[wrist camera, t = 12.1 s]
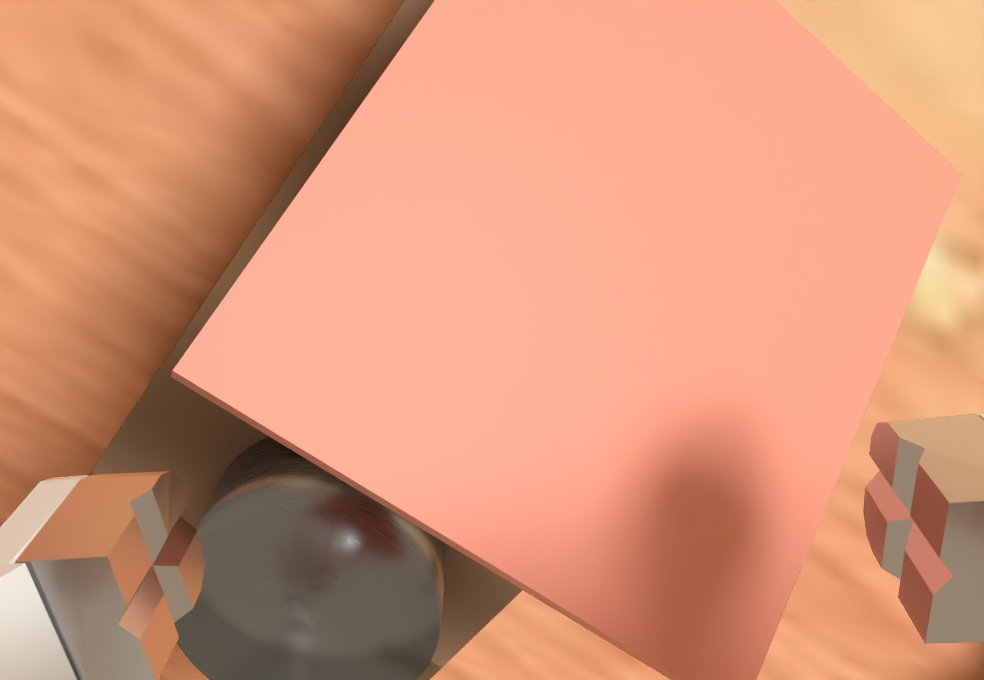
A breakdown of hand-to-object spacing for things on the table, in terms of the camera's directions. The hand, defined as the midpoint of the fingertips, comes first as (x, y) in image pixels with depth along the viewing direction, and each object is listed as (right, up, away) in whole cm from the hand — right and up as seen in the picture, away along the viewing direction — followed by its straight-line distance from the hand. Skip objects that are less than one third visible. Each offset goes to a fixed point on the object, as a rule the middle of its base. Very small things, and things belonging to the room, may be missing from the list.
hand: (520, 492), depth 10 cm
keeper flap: (+2, +3, +3) cm, 5 cm away
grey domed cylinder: (-4, 0, +14) cm, 15 cm away
